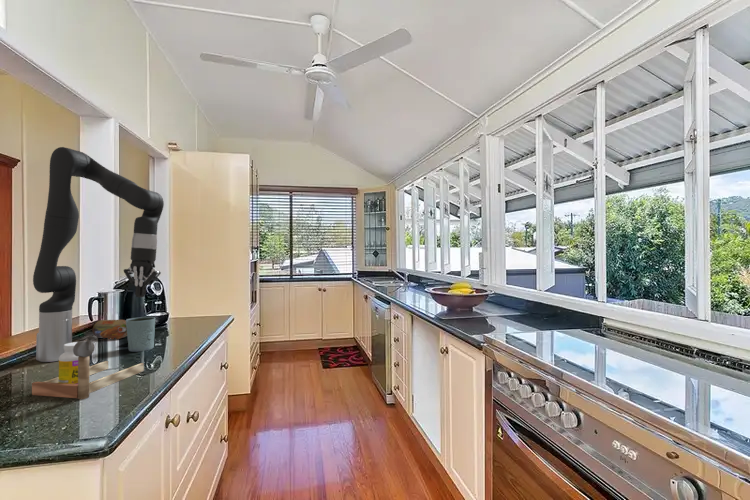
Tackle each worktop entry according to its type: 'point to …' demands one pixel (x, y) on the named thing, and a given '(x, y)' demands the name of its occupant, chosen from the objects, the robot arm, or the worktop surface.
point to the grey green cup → (140, 333)
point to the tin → (110, 329)
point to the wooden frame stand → (83, 375)
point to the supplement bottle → (68, 365)
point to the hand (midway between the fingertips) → (140, 297)
